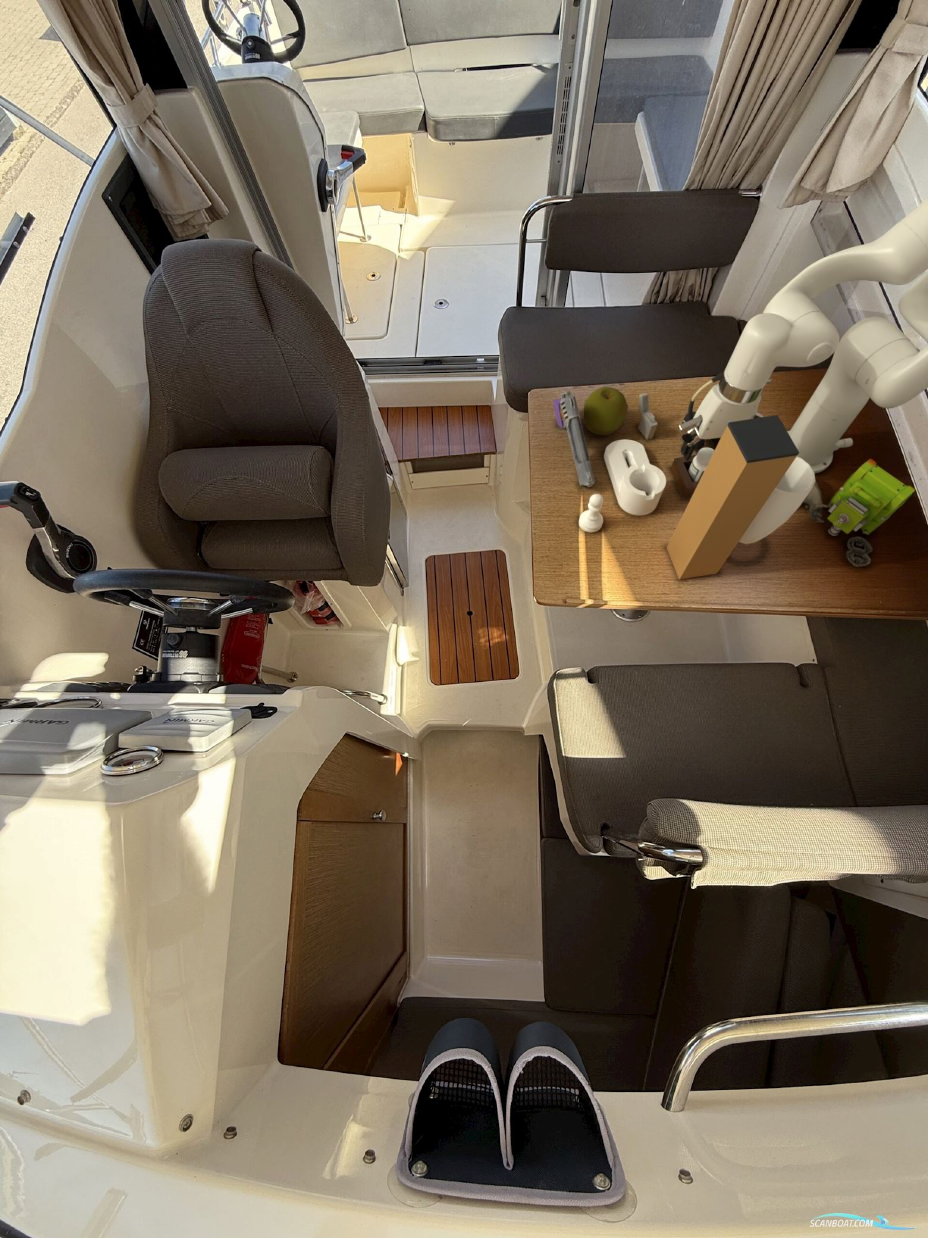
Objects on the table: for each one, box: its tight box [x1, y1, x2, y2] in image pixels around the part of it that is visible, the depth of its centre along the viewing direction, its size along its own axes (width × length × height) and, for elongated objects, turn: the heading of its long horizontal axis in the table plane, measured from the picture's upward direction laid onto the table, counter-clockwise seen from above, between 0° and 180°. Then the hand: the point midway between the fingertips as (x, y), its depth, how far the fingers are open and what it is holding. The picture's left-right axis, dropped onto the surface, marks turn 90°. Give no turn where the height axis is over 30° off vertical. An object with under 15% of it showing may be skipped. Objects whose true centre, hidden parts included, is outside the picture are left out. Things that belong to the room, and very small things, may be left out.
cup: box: [738, 457, 816, 545], centre depth 110 cm, size 10×10×22 cm
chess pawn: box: [578, 493, 604, 533], centre depth 119 cm, size 5×5×9 cm
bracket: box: [603, 439, 667, 516], centre depth 125 cm, size 20×9×7 cm, turn 7°
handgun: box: [552, 390, 596, 488], centre depth 130 cm, size 3×22×15 cm
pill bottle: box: [687, 447, 715, 482], centre depth 124 cm, size 5×5×8 cm
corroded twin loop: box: [845, 535, 874, 568], centre depth 117 cm, size 5×8×1 cm, turn 156°
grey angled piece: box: [638, 392, 659, 441], centre depth 132 cm, size 7×2×8 cm, turn 22°
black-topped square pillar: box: [666, 414, 799, 580], centre depth 103 cm, size 8×8×35 cm
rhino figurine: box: [802, 479, 830, 524], centre depth 121 cm, size 4×14×6 cm, turn 7°
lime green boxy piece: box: [827, 458, 916, 537], centre depth 115 cm, size 13×16×14 cm
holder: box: [669, 454, 699, 500], centre depth 126 cm, size 9×9×4 cm
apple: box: [582, 386, 629, 436], centre depth 131 cm, size 10×10×11 cm
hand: (706, 452), depth 119 cm, fingers open, 9 cm apart
